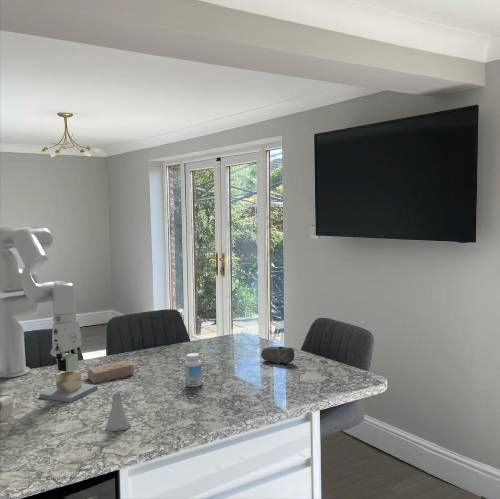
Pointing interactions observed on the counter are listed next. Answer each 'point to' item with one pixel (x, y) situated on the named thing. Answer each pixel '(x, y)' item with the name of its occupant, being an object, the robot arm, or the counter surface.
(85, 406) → the counter surface
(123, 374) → the brick
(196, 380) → the pill bottle
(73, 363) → the sage block
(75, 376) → the beech block
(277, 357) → the perforated stone tool
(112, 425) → the flask
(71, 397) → the board
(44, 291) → the robot arm
